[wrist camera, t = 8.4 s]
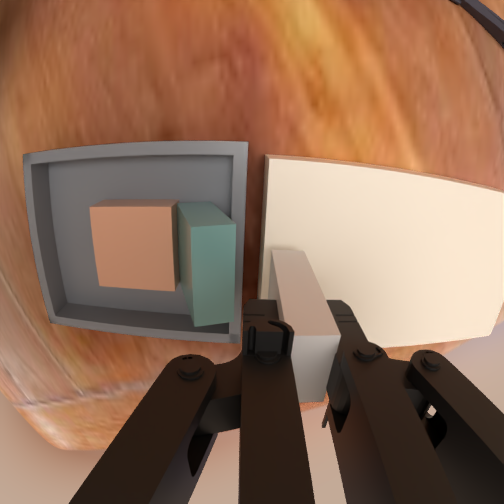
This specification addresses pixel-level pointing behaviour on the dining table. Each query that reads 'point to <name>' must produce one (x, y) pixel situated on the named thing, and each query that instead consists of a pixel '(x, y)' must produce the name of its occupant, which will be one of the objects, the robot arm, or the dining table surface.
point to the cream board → (390, 245)
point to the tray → (127, 187)
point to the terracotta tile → (136, 243)
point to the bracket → (485, 18)
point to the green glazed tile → (206, 262)
